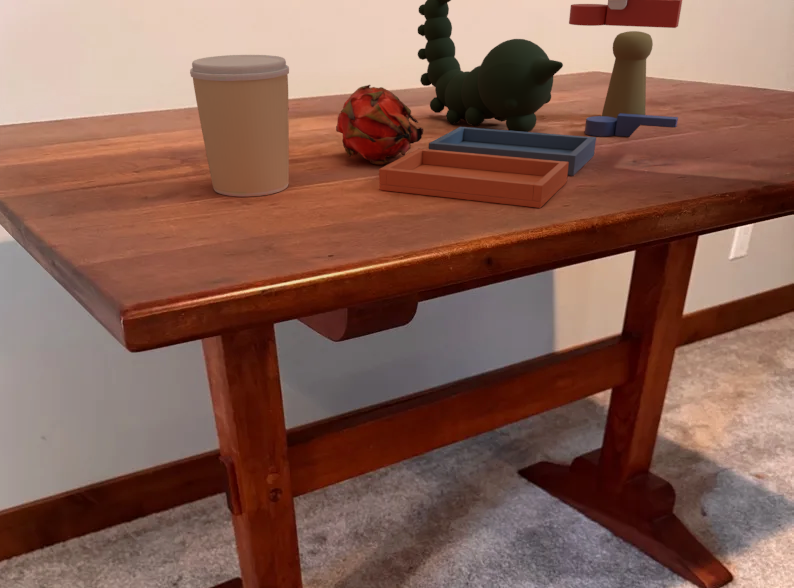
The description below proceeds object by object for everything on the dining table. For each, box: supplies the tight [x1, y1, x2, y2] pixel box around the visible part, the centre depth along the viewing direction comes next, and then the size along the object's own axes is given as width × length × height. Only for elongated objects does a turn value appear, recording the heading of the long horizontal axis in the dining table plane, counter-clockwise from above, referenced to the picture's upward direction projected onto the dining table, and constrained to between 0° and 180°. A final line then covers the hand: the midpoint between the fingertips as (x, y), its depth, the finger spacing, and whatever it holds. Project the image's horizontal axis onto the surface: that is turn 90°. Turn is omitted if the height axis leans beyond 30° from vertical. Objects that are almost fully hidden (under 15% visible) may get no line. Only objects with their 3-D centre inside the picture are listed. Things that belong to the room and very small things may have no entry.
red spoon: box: [568, 0, 683, 29], centre depth 83 cm, size 11×4×2 cm, turn 64°
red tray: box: [378, 148, 569, 209], centre depth 81 cm, size 17×10×2 cm, turn 65°
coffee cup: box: [189, 54, 290, 198], centre depth 79 cm, size 9×9×12 cm
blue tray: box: [428, 126, 597, 177], centre depth 91 cm, size 17×10×2 cm, turn 65°
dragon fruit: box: [335, 84, 424, 166], centre depth 90 cm, size 8×8×12 cm
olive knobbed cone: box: [601, 30, 654, 119], centre depth 110 cm, size 6×6×11 cm
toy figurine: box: [417, 0, 564, 132], centre depth 103 cm, size 9×19×25 cm
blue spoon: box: [584, 113, 679, 138], centre depth 101 cm, size 11×4×2 cm, turn 65°
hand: (620, 8), depth 83 cm, fingers closed on red spoon, 1 cm apart
